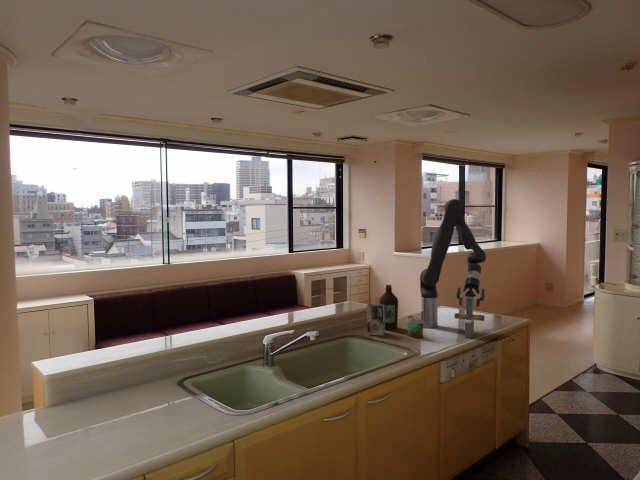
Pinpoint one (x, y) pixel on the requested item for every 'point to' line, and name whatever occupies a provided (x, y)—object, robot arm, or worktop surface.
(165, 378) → the worktop surface
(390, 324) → the olive oil
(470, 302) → the beam
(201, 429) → the worktop surface
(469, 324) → the block
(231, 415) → the worktop surface
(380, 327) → the coffee box
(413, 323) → the food container
